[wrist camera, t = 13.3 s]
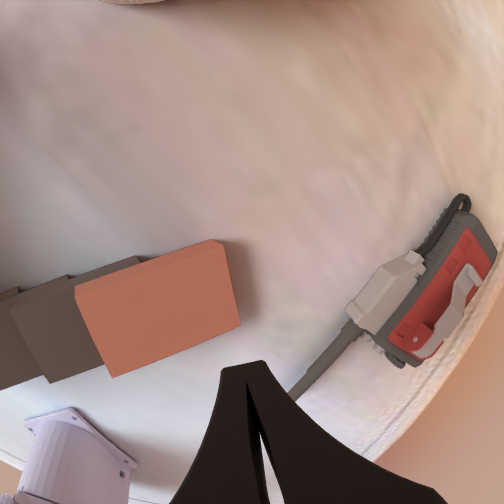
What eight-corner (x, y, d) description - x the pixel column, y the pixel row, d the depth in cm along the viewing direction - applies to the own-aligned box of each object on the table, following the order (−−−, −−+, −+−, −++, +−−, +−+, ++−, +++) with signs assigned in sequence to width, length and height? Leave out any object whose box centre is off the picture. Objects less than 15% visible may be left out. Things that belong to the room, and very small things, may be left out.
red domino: (223, 245, 16) (74, 297, 13) (240, 325, 18) (112, 377, 14) (211, 239, 17) (74, 286, 14) (228, 314, 19) (108, 362, 16)
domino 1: (68, 282, 15) (-38, 324, 12) (98, 352, 17) (0, 390, 13) (67, 274, 17) (-32, 314, 13) (95, 341, 18) (2, 377, 15)
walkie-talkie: (437, 169, 19) (272, 384, 22) (481, 179, 15) (285, 426, 18) (484, 237, 21) (345, 410, 25) (519, 253, 17) (363, 445, 21)
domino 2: (140, 262, 16) (10, 310, 12) (166, 339, 17) (49, 383, 14) (135, 255, 17) (14, 299, 14) (159, 328, 19) (50, 369, 15)
